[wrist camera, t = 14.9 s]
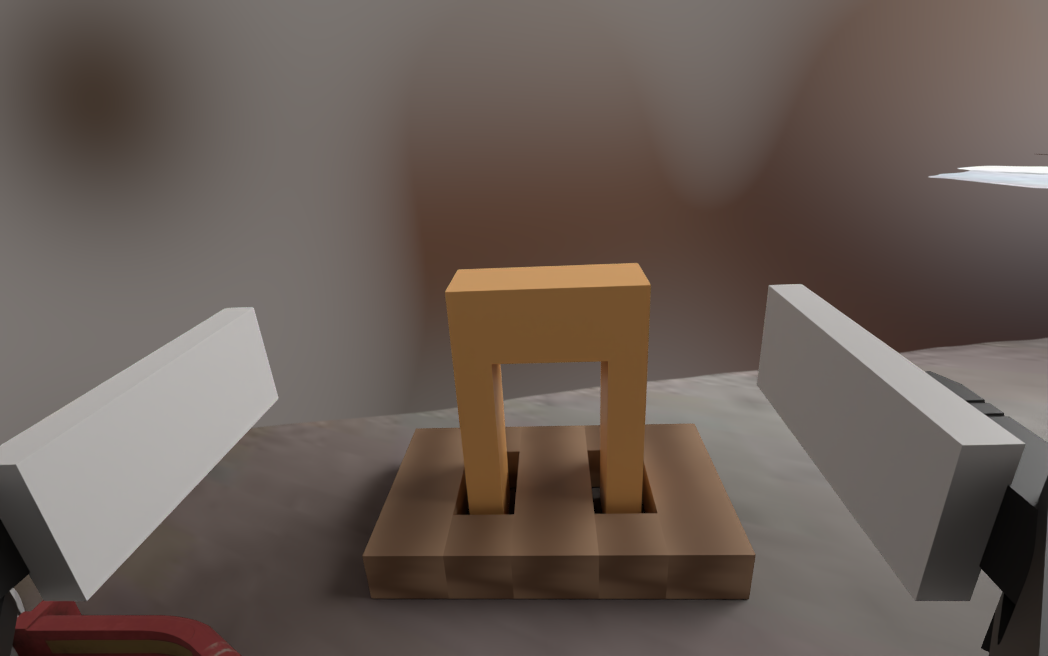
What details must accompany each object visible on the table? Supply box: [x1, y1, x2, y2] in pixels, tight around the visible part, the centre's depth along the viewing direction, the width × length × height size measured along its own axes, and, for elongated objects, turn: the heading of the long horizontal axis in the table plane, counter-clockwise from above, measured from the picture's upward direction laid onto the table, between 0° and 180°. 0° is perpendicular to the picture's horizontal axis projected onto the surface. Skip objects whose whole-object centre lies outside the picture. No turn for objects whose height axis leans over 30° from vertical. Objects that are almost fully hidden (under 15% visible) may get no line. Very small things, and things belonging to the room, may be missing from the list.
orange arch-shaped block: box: [445, 263, 651, 515], centre depth 31 cm, size 10×4×16 cm, turn 87°
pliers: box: [10, 588, 241, 656], centre depth 25 cm, size 12×20×3 cm, turn 59°
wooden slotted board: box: [362, 424, 755, 599], centre depth 33 cm, size 20×12×3 cm, turn 87°
